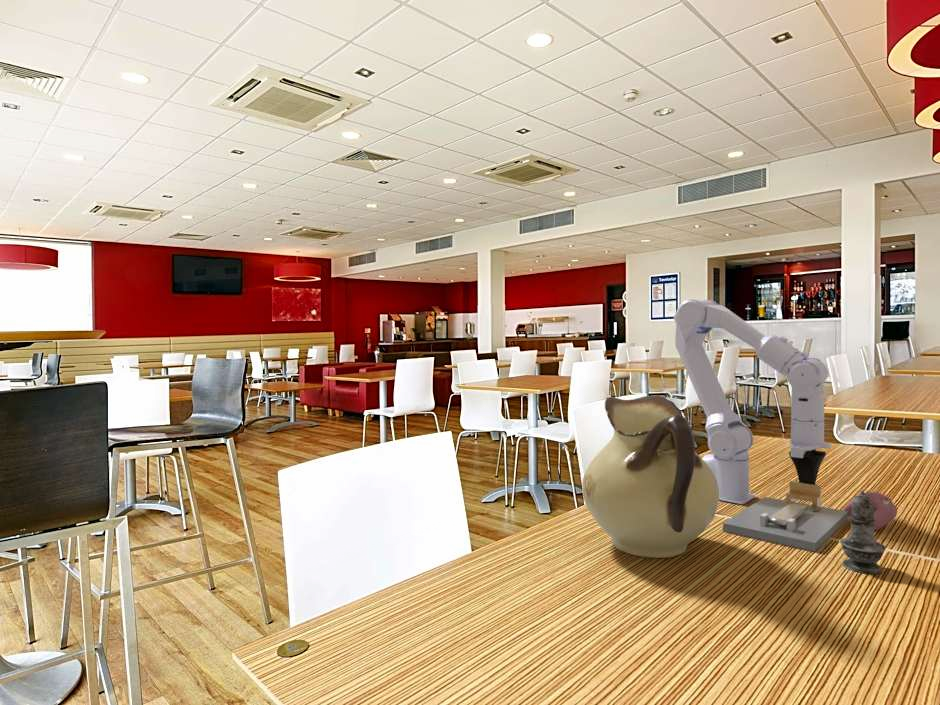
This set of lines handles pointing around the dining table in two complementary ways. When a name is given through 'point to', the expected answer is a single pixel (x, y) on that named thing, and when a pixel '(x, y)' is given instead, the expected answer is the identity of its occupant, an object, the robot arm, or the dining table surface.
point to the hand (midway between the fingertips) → (807, 487)
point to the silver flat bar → (787, 514)
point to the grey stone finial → (862, 538)
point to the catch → (804, 493)
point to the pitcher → (650, 480)
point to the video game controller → (878, 509)
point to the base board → (798, 532)
